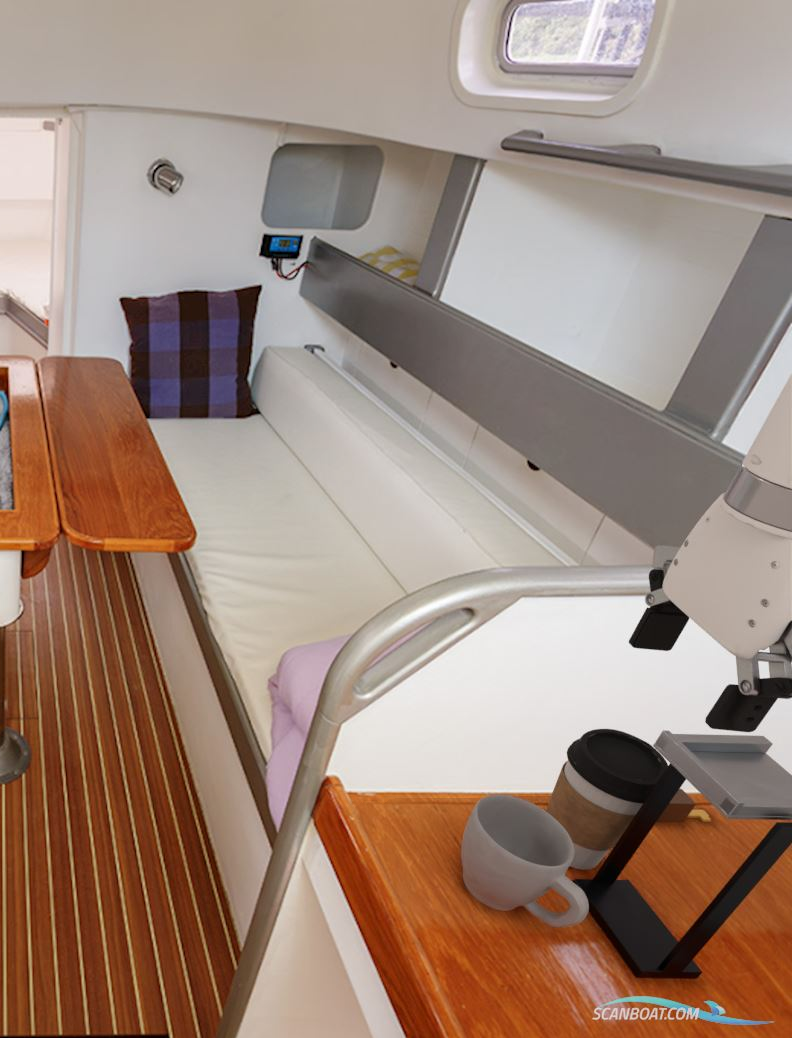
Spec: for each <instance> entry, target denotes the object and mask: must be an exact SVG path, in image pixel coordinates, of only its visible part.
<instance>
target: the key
mask: <svg viewBox="0 0 792 1038" xmlns="http://www.w3.org/2000/svg"><path fill="white" fill-rule="evenodd" d="M696 806H697V803H696V802H695V800H694V799H692V798H691V797H690V796H689V794H687V793H686V792H685V790H683V789H682V788H680V789H679V790H678V792H677V793H676V794H675V796H674V797H673V799H672V800H671V802H670V803H669V805H668V806H667V807H666V809H665V810H664V812H663V813H662V815H661V816H660V817H659V819H658V820H657V822H667V823H669V822H670V823H671V822H672V823H673V822H677V823H681V822H682V823H683V822H685V820H686V819H687V818H688V819H689V818H691V819H692V818H696V819H697V818H698V820H699V821H700V822H702V823H703V822H704V823H707V822H708V823H710V822H711V821H712V818H710V815H709V814H708V813H707V811H706V810H705V809H695V807H696Z"/></svg>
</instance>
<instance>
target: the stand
mask: <svg viewBox="0 0 792 1038" xmlns="http://www.w3.org/2000/svg"><path fill="white" fill-rule="evenodd" d="M686 780H687V779H686V778H685V777H684V776H683V775H682V774H681V773H680V772H679V771H678V770H677V769H676V768H675V767H674V766H673V765H672V764H671V763H670V762H669V764H668V767H667V769H666V770H665V772H664V773H663V775H662V776H661V778H660V779H659V781H658V782H657V784H656V785H655V787H654V788H653V790H652V791H651V793H650V794H649V796H648V797H647V799H646V800H645V802H644V803H643V805H642V806H641V808H640V809H639V810H638V812H637V813H636V815H635V816H634V818H633V819H632V821H631V822H630V824H629V825H628V827H627V828H626V830H625V831H624V833H623V834H622V836H621V837H620V839H619V840H618V842H617V843H616V845H615V846H614V847H613V848H611V850H610V851H609V854H608V855H607V857H606V858H605V859H604V861H603V863H602V864H601V866H600V867H599V868H598V870H597V872H596V873H595V874H594V876H593V878H573V880H571V881H572V882H573V883H575V884H576V885H577V886H578V887H580V888H581V889H582V890H583V892H584V893H585V895H586V897H587V899H588V904H589V911H588V913H589V914H590V916H591V917H592V918H593V920H594V921H595V923H596V924H597V925H598V927H599V928H600V930H601V931H602V932H603V934H604V935H605V936H606V938H607V939H608V941H609V942H610V943H611V945H612V947H614V949H615V951H616V952H617V954H618V955H619V956H620V957H621V959H622V960H623V961H624V963H625V965H627V967H628V969H629V970H630V971H631V973H632V974H633V975H634V977H635V978H636V979H675V980H676V979H681V980H682V979H683V980H684V979H687V980H697V979H698V978H699V977H700V976H701V975H702V973H703V971H702V970H701V968H700V967H699V966H698V964H697V963H696V962H695V960H694V959H695V958H696V957H697V955H698V954H699V953H700V952H701V951H702V949H703V948H704V947H705V946H706V945H707V943H708V942H709V941H710V940H711V939H712V938H713V936H715V934H716V933H717V932H718V930H720V928H721V927H722V926H723V925H724V924H725V922H726V921H727V920H728V919H729V918H730V917H731V916H732V914H733V913H734V912H735V911H736V910H737V908H738V907H739V906H740V905H741V904H742V903H743V901H744V900H745V899H746V898H747V896H748V895H749V894H750V893H751V892H752V891H753V890H754V888H756V886H757V885H758V884H759V883H760V881H761V880H762V879H763V878H764V877H765V876H766V875H767V873H768V872H769V871H770V870H771V869H772V867H773V866H774V865H775V864H776V863H777V862H778V860H779V859H780V858H781V857H782V856H783V854H784V853H785V852H786V851H787V850H788V849H789V847H790V846H791V845H792V822H784V821H777V822H775V823H774V825H773V826H772V827H771V828H770V830H769V831H768V832H767V833H766V834H765V836H764V837H763V838H762V839H761V840H760V842H759V843H758V844H757V846H756V847H755V848H754V849H753V850H752V852H751V853H750V854H749V855H748V857H746V859H745V860H744V861H743V863H741V865H740V866H739V867H738V869H737V870H736V871H735V872H734V874H733V875H732V876H731V877H730V879H729V880H728V881H727V882H726V883H725V885H724V886H723V887H722V888H721V889H720V891H718V893H717V894H716V895H715V897H714V898H713V899H712V900H711V901H710V903H709V904H708V906H706V908H705V909H704V910H703V912H702V913H701V914H700V915H699V916H698V917H697V919H695V921H694V923H693V924H692V925H691V926H690V927H689V928H688V929H687V931H686V932H685V933H684V935H683V936H682V937H681V938H680V939H679V941H678V939H677V938H676V937H675V935H674V934H673V933H672V932H671V930H669V928H668V927H667V925H666V924H665V923H664V922H663V921H662V920H661V918H660V916H658V914H657V913H656V912H655V911H654V909H653V908H652V907H651V905H650V904H649V903H648V902H647V900H646V899H645V898H644V897H643V895H641V893H640V892H639V891H638V890H637V888H636V886H635V885H633V883H632V882H631V881H630V879H618V878H619V876H620V875H621V874H622V872H623V871H624V869H625V868H626V866H627V865H628V863H629V862H630V861H631V859H632V858H633V856H634V855H635V853H636V852H637V851H638V850H639V848H640V846H641V845H642V843H643V842H644V840H645V839H646V838H647V836H648V835H649V833H650V832H651V830H652V829H653V828H654V826H655V825H656V823H657V822H658V821H657V820H658V819H659V817H660V816H661V815H662V813H663V812H664V810H665V809H666V807H667V806H668V805H669V803H670V802H671V800H672V799H673V797H674V796H675V794H676V793H677V792H678V790H679V789H681V787H682V786H683V785H684V783H685V781H686Z"/></svg>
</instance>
